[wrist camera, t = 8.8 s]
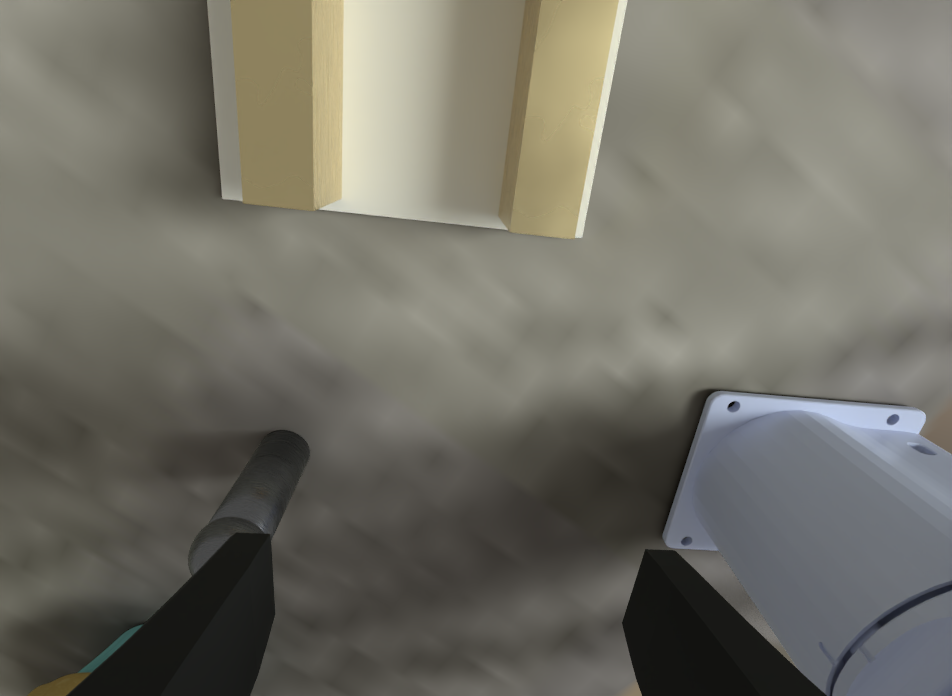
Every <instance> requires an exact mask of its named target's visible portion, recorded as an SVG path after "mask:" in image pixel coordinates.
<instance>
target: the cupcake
mask: <svg viewBox="0 0 952 696" xmlns="http://www.w3.org/2000/svg"><path fill="white" fill-rule="evenodd" d="M142 625H143V624H142ZM142 625H139V626H136V627H133V628H131V629H129V630H128V631H126V632H125V633H123V634H122V635H121V636H120V637H119V638H118V639H117V640H116V641H114V642H113V643H112V644H111V645H110V646H109V647H108V648H107V649H106V650H104V651H103V652H102V653H101V654H100V655H99V656H97V657H96V658H95V659H94V660H93V661H91V662H90V663H89V664H88V665H87V666H85V667H84V668H83V669H82V670H80V671H79V672H78V673H74V674H69V675H65V676H63V677H60V678H58V679H56V680H54V681H52V682H50V683H47V684H43V685H41V686H38V687H37V688H35V689H34V690H33V691H32V692H30V693H29V694H28V695H27V696H66V695H67V694H68V693H69V692H71V691H72V690H73V689H74V688H75V687H76V686H77V685H78V684H79V683H81V682H82V681H83V680H84V679H85V678H86V677H87V676H88V675H89V674H91V673H92V672H93V671H94V670H95V669H96V668H97V667H98V666H99V665H101V664H102V663H103V662H104V661H105V660H106V659H107V658H108V657H109V656H111V655H112V654H113V653H114V652H115V651H116V650H117V649H118V648H119V647H120V646H121V645H123V644H124V643H125V642H126V641H127V640H128V639H129V638H130V637H131V636H132V635H133V634H134V633H135V632H136V631H137V630H138V629H139V628H140V627H141V626H142Z"/></svg>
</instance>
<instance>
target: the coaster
mask: <svg viewBox="0 0 952 696" xmlns="http://www.w3.org/2000/svg"><path fill="white" fill-rule="evenodd" d="M207 6H208V20H209V33H210V46H211V59H212V72H213V85H214V98H215V111H216V124H217V137H218V150H219V163H220V176H221V189H222V199H229V200H238V201H243V198H242V182H241V166H240V150H239V134H238V118H237V102H236V85H235V69H234V53H233V37H232V21H231V5H230V0H207ZM626 6H627V0H619V2H618V8H617V13H616V18H615V24H614V29H613V35H612V40H611V45H610V51H609V56H608V61H607V67H606V72H605V78H604V83H603V88H602V94H601V99H600V104H599V110H598V115H597V121H596V126H595V131H594V137H593V142H592V147H591V153H590V158H589V164H588V169H587V174H586V180H585V185H584V190H583V196H582V201H581V207H580V212H579V217H578V223H577V228H576V233H575V237H577V238H582V235H583V230H584V225H585V219H586V214H587V209H588V204H589V198H590V193H591V188H592V183H593V178H594V172H595V167H596V162H597V157H598V152H599V146H600V141H601V136H602V131H603V125H604V120H605V115H606V110H607V105H608V99H609V94H610V89H611V84H612V79H613V73H614V68H615V63H616V58H617V52H618V47H619V42H620V37H621V32H622V26H623V21H624V16H625V11H626ZM524 8H525V0H344V22H343V118H342V199H340V200H338V201H335V202H333V203H331V204H329V205H326V206H324V207H322V208H320V209H321V210H330V211H339V212H348V213H357V214H366V215H376V216H385V217H394V218H403V219H412V220H421V221H430V222H440V223H449V224H458V225H467V226H476V227H485V228H495V229H504V230H508V229H507V228H506V227H505V225H504V224H503V222H502V221H501V219H500V218H499V217H498V214H499V206H500V198H501V190H502V182H503V174H504V166H505V158H506V150H507V142H508V134H509V127H510V119H511V111H512V103H513V95H514V87H515V79H516V71H517V63H518V55H519V47H520V40H521V32H522V24H523V16H524Z"/></svg>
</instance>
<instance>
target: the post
mask: <svg viewBox="0 0 952 696" xmlns="http://www.w3.org/2000/svg"><path fill="white" fill-rule="evenodd" d="M309 456H310V450H309V446H308V444H307V443H306V441H305V440H304V439H303V438H302V437H301V436H299V435H298V434H296V433H293V432H290V431H285V430H280V431H275V432H272V433H270V434H268V435H267V436H266V437H265V438H264V439H263V440H262V442H261V444H260V445H259V447H258V448H257V450H256V451H255V453H254V454H253V456H252V457H251V459H250V460H249V462H248V463H247V465H246V467H245V468H244V470H243V471H242V473H241V474H240V476H239V477H238V479H237V480H236V482H235V483H234V485H233V487H232V488H231V490H230V491H229V493H228V494H227V496H226V497H225V499H224V500H223V502H222V503H221V505H220V507H219V508H218V510H217V511H216V513H215V514H214V516H213V517H212V519H211V520H210V522H209V523H208V525H206V526H205V527H204V528H203V529H202V530H201V531H200V532H199V533H198V535H197V536H196V537H195V539H194V541H193V543H192V545H191V547H190V550H189V556H188V566H189V570H190V573H191V575H192V576H193V575H194V574H195V573H196V572H197V571H198V570H199V569H200V568H201V567H202V566H203V565H204V564H205V563H206V562H207V561H208V560H209V559H210V558H211V556H212V555H213V554H214V553H215V552H216V551H217V550H218V549H219V548H220V547H221V546H222V545H223V544H224V543H225V542H226V541H227V540H228V539H229V538H230V537H231V536H232V535H234V534H235V533H236V532H239V533H263V534H271V540H272V538H273V535H274V533H275V531H276V529H277V527H278V525H279V522H280V520H281V518H282V516H283V514H284V512H285V509H286V507H287V505H288V503H289V501H290V499H291V496H292V494H293V492H294V490H295V488H296V486H297V483H298V481H299V479H300V477H301V475H302V473H303V470H304V468H305V466H306V464H307V462H308V460H309Z"/></svg>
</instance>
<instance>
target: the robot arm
mask: <svg viewBox="0 0 952 696" xmlns="http://www.w3.org/2000/svg"><path fill="white" fill-rule="evenodd" d="M733 401H735V403H734V405H733V406H731V407H729V408H727V407H728V405H729V403H731V402H733ZM889 416H890V417H889ZM888 417H889V418H888ZM925 420H926V415H925V413H924V412H923V411H921V410H919V409H917V408H914V407H907V406H895V405H883V404H871V403H859V402H847V401H835V400H823V399H811V398H799V397H787V396H775V395H764V394H752V393H740V392H728V391H716V392H714V393H712V394H711V395H710V396H709V397H708V398H707V400H706V403H705V406H704V409H703V412H702V415H701V418H700V421H699V424H698V427H697V430H696V434H695V437H694V440H693V443H692V446H691V449H690V452H689V455H688V458H687V461H686V464H685V467H684V470H683V474H682V477H681V480H680V483H679V486H678V489H677V492H676V495H675V498H674V501H673V504H672V507H671V510H670V514H669V517H668V520H667V523H666V526H665V529H664V532H663V537H662V538H663V540H664V542H665V544H666V545H667V546H668V547H670V548H678V549H696V550H715V551H720V553H721V554H722V556H723V557H724V559H725V560H726V562H727V563H728V565H729V566H730V568H731V569H732V571H733V572H734V574H735V575H736V577H737V578H738V580H739V581H740V583H741V584H742V586H743V587H744V589H745V590H746V592H747V593H748V595H749V596H750V598H751V599H752V601H753V602H754V604H755V605H756V607H757V608H758V610H759V611H760V613H761V614H762V616H763V617H764V619H765V620H766V622H767V623H768V625H769V626H770V628H771V629H772V631H773V632H774V634H775V635H776V637H777V638H778V640H779V641H780V643H781V644H782V646H783V647H784V649H785V650H786V652H787V653H788V655H789V656H790V658H791V659H792V661H793V662H794V664H795V665H796V667H797V668H798V669H797V668H796V667H795V666H794V665H793V664H792V663H790V662H789V661H788V660H787V659H786V658H785V657H784V656H783V655H782V654H781V653H780V652H779V651H778V650H777V649H775V648H774V647H773V646H772V645H771V644H770V643H769V642H768V641H767V640H766V639H765V638H764V637H763V636H762V635H761V634H760V633H759V632H758V631H757V630H756V629H755V628H754V627H753V626H752V625H750V624H749V623H748V622H747V621H746V620H745V619H744V618H743V617H742V616H741V615H740V614H739V613H738V612H737V611H736V610H735V609H734V608H733V607H732V606H731V605H730V604H729V603H728V602H727V601H726V600H725V599H724V598H723V597H722V596H721V595H720V594H719V593H718V592H717V591H716V590H715V589H714V588H713V587H712V586H711V585H710V584H709V583H708V582H707V581H706V580H705V579H704V578H703V577H702V576H701V575H700V574H699V573H698V572H697V571H696V570H695V569H694V568H693V567H692V566H691V565H690V564H688V563H687V562H686V561H685V560H684V559H683V558H682V557H681V556H680V555H679V554H678V553H677V552H676V551H673V550H648V549H645V552H644V556H643V559H642V562H641V565H640V568H639V571H638V575H637V578H636V581H635V584H634V587H633V590H632V593H631V597H630V600H629V603H628V606H627V609H626V612H625V616H624V619H623V622H622V624H623V628H624V633H625V637H626V641H627V645H628V649H629V653H630V657H631V661H632V665H633V668H634V672H635V676H636V679H637V682H638V685H639V688H640V691H641V693H642V696H952V454H950V453H948V452H947V451H945V450H943V449H942V448H940V447H938V446H937V445H935V444H934V443H932V442H930V441H929V440H927V439H925V438H924V437H922V436H920V435H919V432H920V430H921V429H922V427H923V425H924V423H925ZM685 537H687V538H685ZM683 538H685V539H683ZM274 616H275V603H274V586H273V568H272V551H271V534H263V533H239V532H236V533H235V534H234V535H232V536H231V537H230V538H229V539H228V540H227V541H226V542H225V543H224V544H223V545H222V546H221V547H220V548H219V549H218V550H217V551H216V552H215V553H214V554H213V555H212V556H211V558H210V559H209V560H208V561H207V562H206V563H205V564H204V565H203V566H202V567H201V568H200V569H199V570H198V571H197V572H196V573H195V574H194V575H193V576H192V577H191V578H190V579H189V580H188V581H187V582H186V583H185V584H184V585H183V586H182V587H181V588H180V589H179V590H178V591H177V592H176V593H175V594H174V595H173V596H172V597H171V598H170V599H169V600H168V601H167V602H166V603H165V604H164V605H163V606H162V607H161V608H160V609H159V610H158V611H157V612H156V613H155V614H154V615H153V616H152V617H151V618H150V619H149V620H148V621H147V622H145V623H144V624H143V625H142V626H141V627H140V628H139V629H138V630H137V631H136V632H135V633H134V634H133V635H132V636H131V637H130V638H129V639H128V640H127V641H126V642H125V643H124V644H123V645H121V646H120V647H119V648H118V649H117V650H116V651H115V652H114V653H113V654H112V655H111V656H109V657H108V658H107V659H106V660H105V661H104V662H103V663H102V664H101V665H99V666H98V667H97V668H96V669H95V670H94V671H93V672H92V673H91V674H89V675H88V676H87V677H86V678H85V679H84V680H83V681H82V682H81V683H79V684H78V685H77V686H76V687H75V688H74V689H73V690H72V691H71V692H69V693H68V694H67V695H66V696H250V694H251V691H252V689H253V686H254V684H255V681H256V678H257V676H258V673H259V669H260V666H261V662H262V659H263V656H264V652H265V649H266V645H267V642H268V638H269V634H270V631H271V627H272V624H273V620H274Z"/></svg>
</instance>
